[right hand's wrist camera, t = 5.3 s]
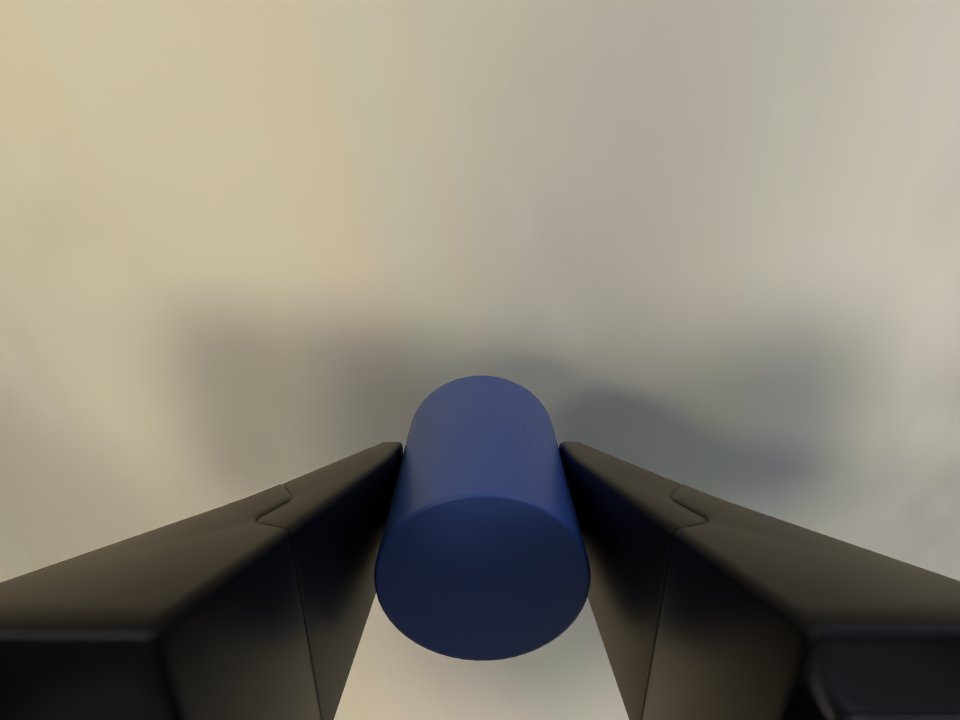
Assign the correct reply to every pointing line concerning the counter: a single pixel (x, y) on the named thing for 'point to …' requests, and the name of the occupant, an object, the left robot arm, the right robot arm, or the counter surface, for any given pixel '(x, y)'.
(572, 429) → the counter surface
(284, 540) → the right robot arm
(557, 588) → the canister
